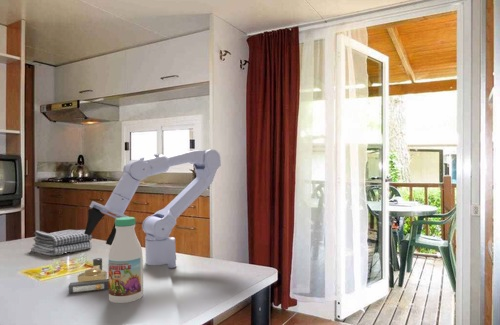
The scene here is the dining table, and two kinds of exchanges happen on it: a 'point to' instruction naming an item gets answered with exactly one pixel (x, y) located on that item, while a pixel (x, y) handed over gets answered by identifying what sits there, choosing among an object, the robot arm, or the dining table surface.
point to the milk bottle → (125, 263)
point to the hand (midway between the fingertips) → (97, 239)
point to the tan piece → (93, 272)
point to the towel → (61, 242)
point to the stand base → (88, 286)
